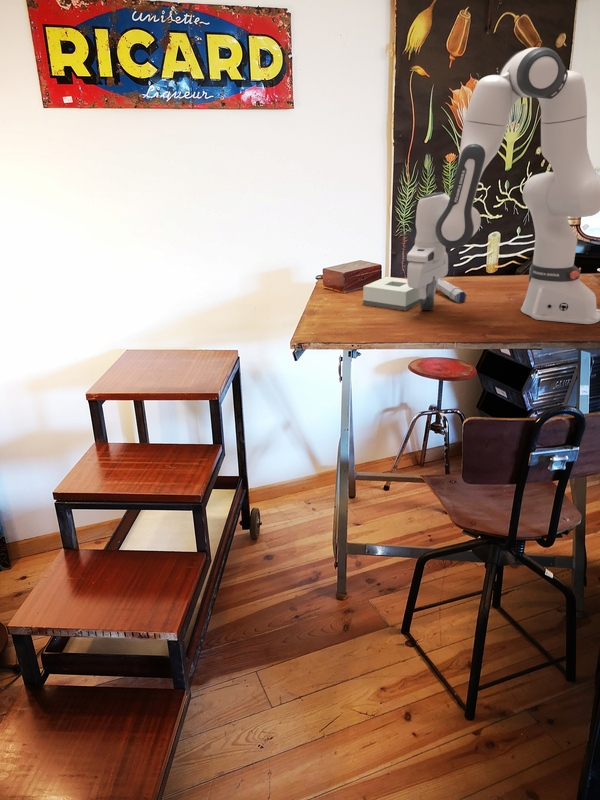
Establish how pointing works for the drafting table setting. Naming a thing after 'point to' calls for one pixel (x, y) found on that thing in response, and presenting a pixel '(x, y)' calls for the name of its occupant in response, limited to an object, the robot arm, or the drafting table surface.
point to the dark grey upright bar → (429, 296)
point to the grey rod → (451, 291)
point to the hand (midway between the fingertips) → (427, 296)
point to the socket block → (391, 294)
